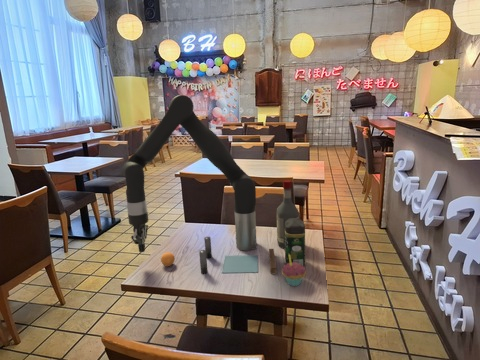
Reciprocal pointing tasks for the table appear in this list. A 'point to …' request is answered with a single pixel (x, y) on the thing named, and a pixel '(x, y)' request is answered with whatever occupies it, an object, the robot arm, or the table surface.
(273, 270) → the stopper wall
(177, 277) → the table surface
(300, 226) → the coffee jar
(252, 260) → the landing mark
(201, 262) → the post
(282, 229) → the liquor
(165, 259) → the ball
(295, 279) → the cupcake
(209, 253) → the post
